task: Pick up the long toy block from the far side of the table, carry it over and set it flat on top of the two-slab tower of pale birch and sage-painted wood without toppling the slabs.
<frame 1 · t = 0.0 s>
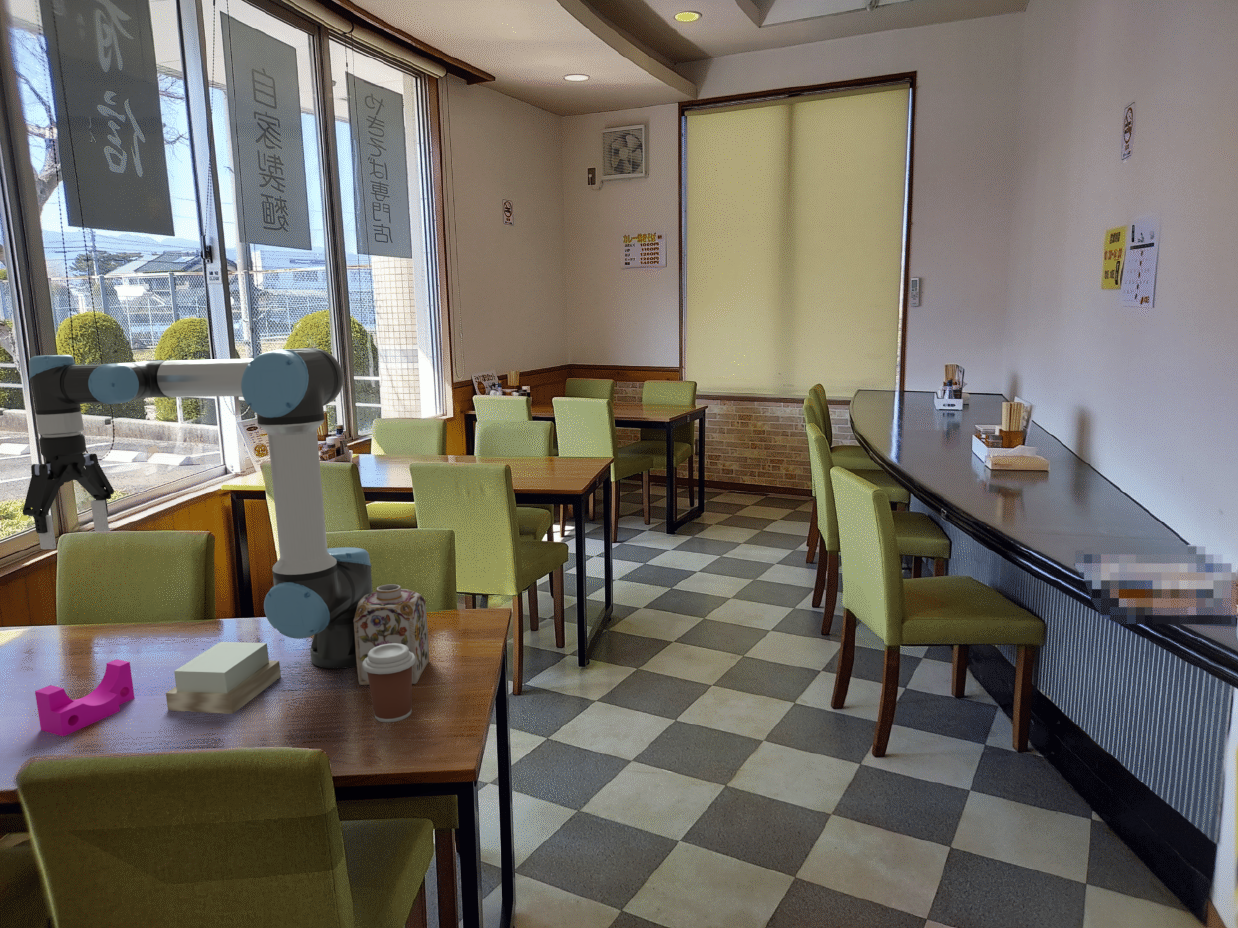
hand: (76, 539, 168), 28 cm above the table, tool pointing down, fingers open, 13 cm apart
toy block: (94, 716, 154), on the table
coffee cup: (393, 714, 151), on the table
tower base slab: (227, 695, 161), on the table, touching tower top slab
tower top slab: (224, 676, 161), point 3 cm above the table, touching tower base slab
decorative jar: (395, 674, 168), on the table
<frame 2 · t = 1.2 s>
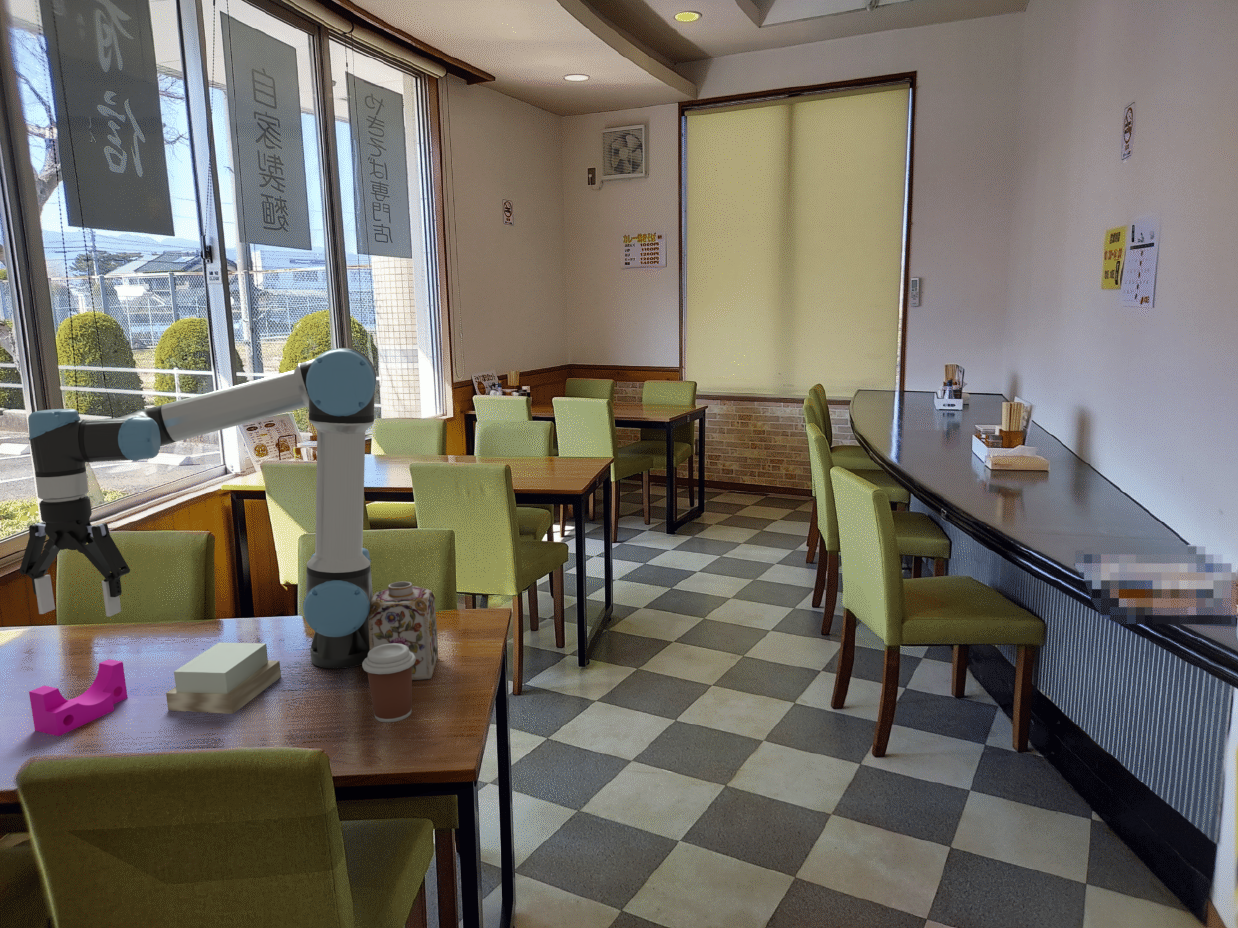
hand: (80, 612, 152), 19 cm above the table, tool pointing down, fingers open, 13 cm apart
toy block: (88, 716, 154), on the table
decorative jar: (407, 670, 170), on the table, touching arm
everything else where it was.
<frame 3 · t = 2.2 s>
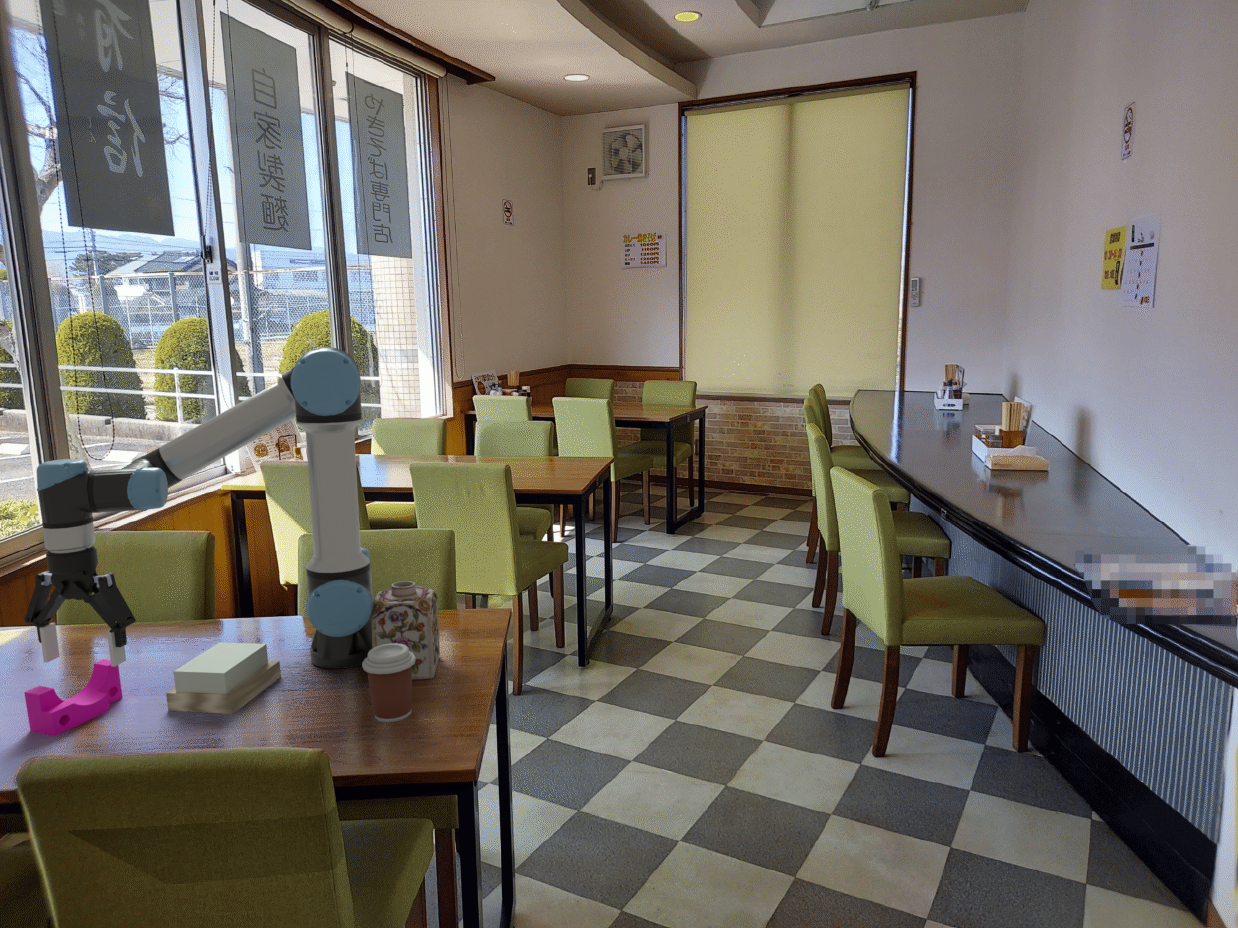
hand: (85, 661, 152), 10 cm above the table, tool pointing down, fingers open, 13 cm apart
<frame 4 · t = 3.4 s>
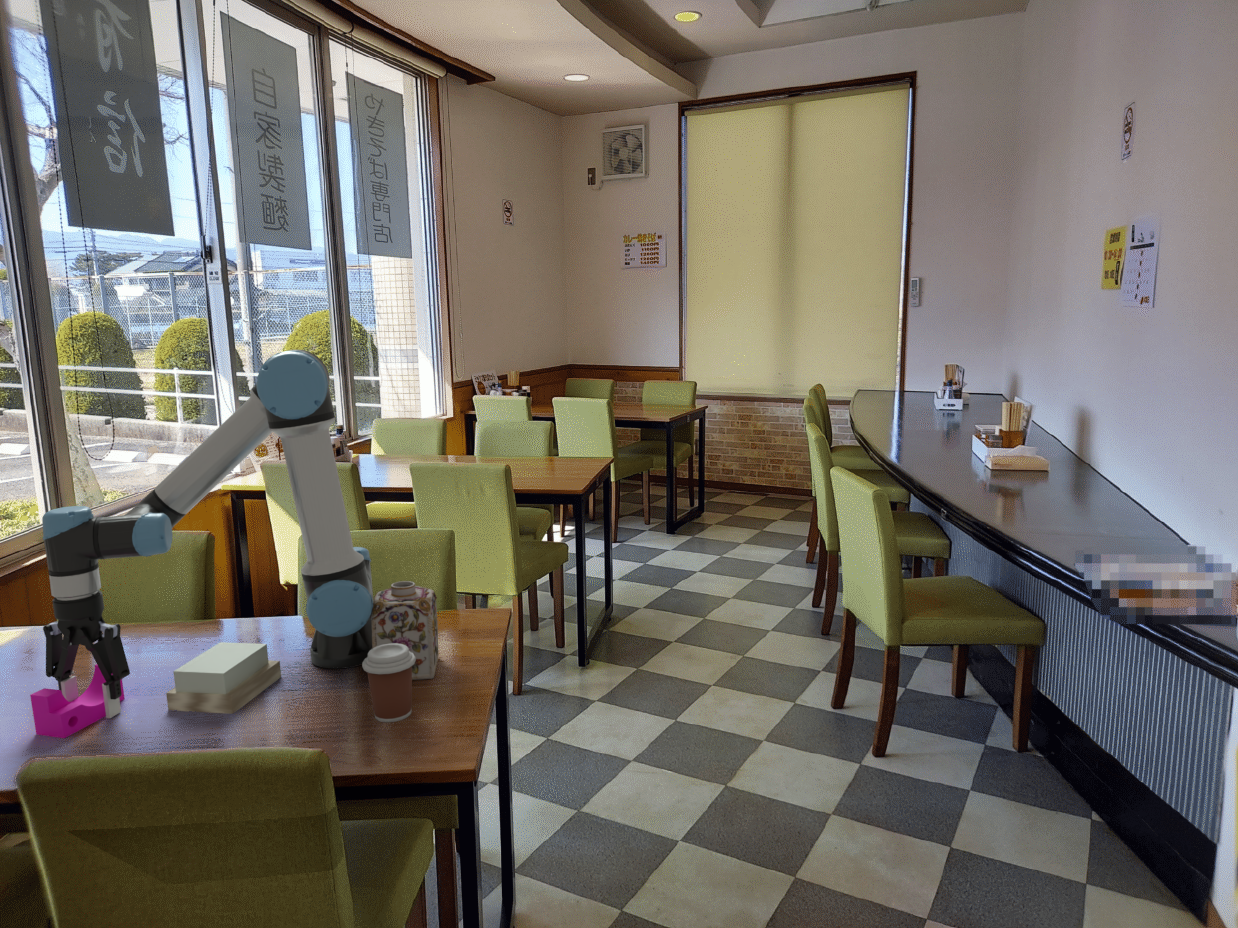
hand: (93, 713, 153), 0 cm above the table, tool pointing down, fingers open, 8 cm apart
toy block: (88, 718, 153), on the table, touching gripper
everything else where it was.
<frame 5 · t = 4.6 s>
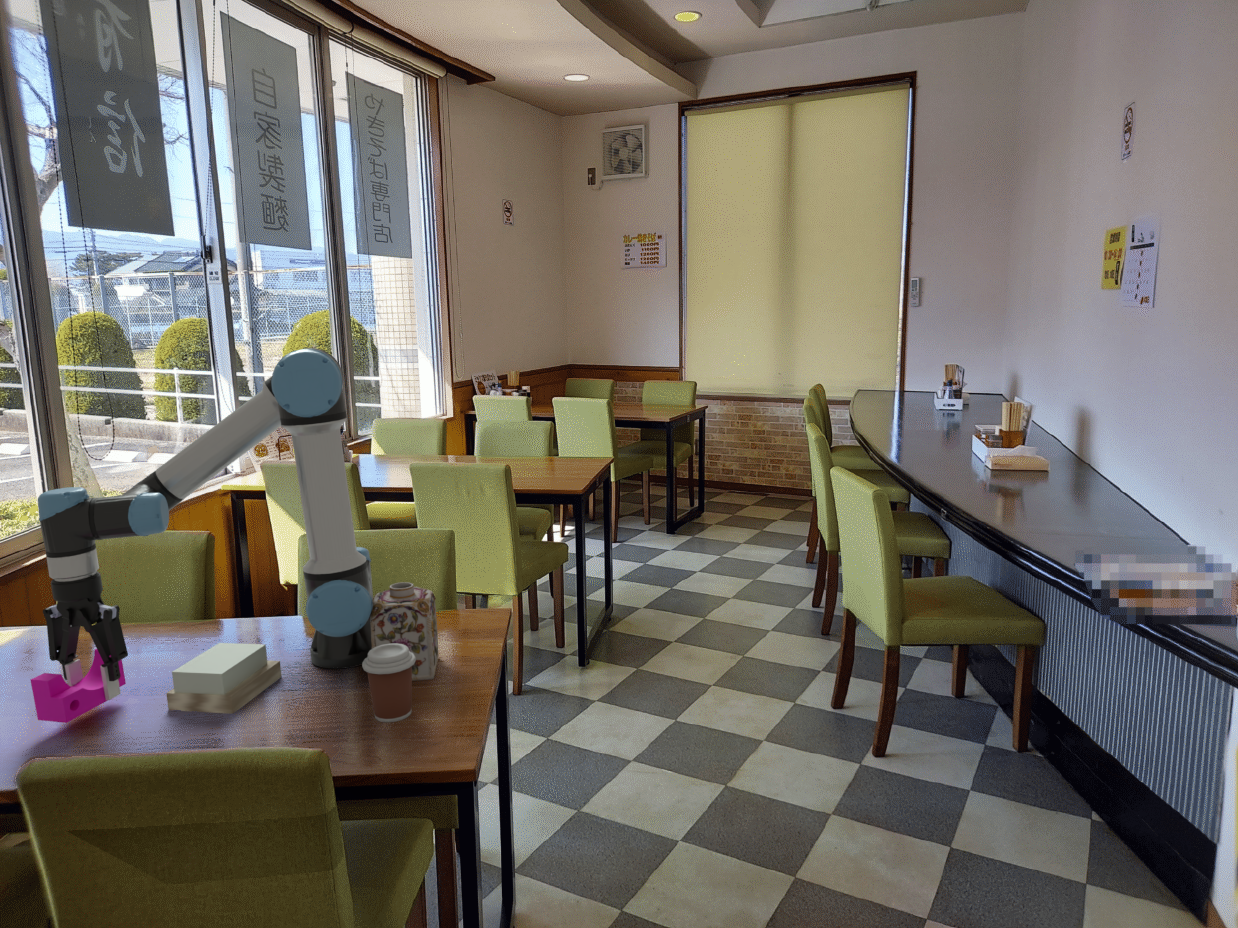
hand: (95, 696, 153), 3 cm above the table, tool pointing down, fingers closed on toy block, 7 cm apart
toy block: (89, 702, 152), point 3 cm above the table, touching gripper
everything else where it was.
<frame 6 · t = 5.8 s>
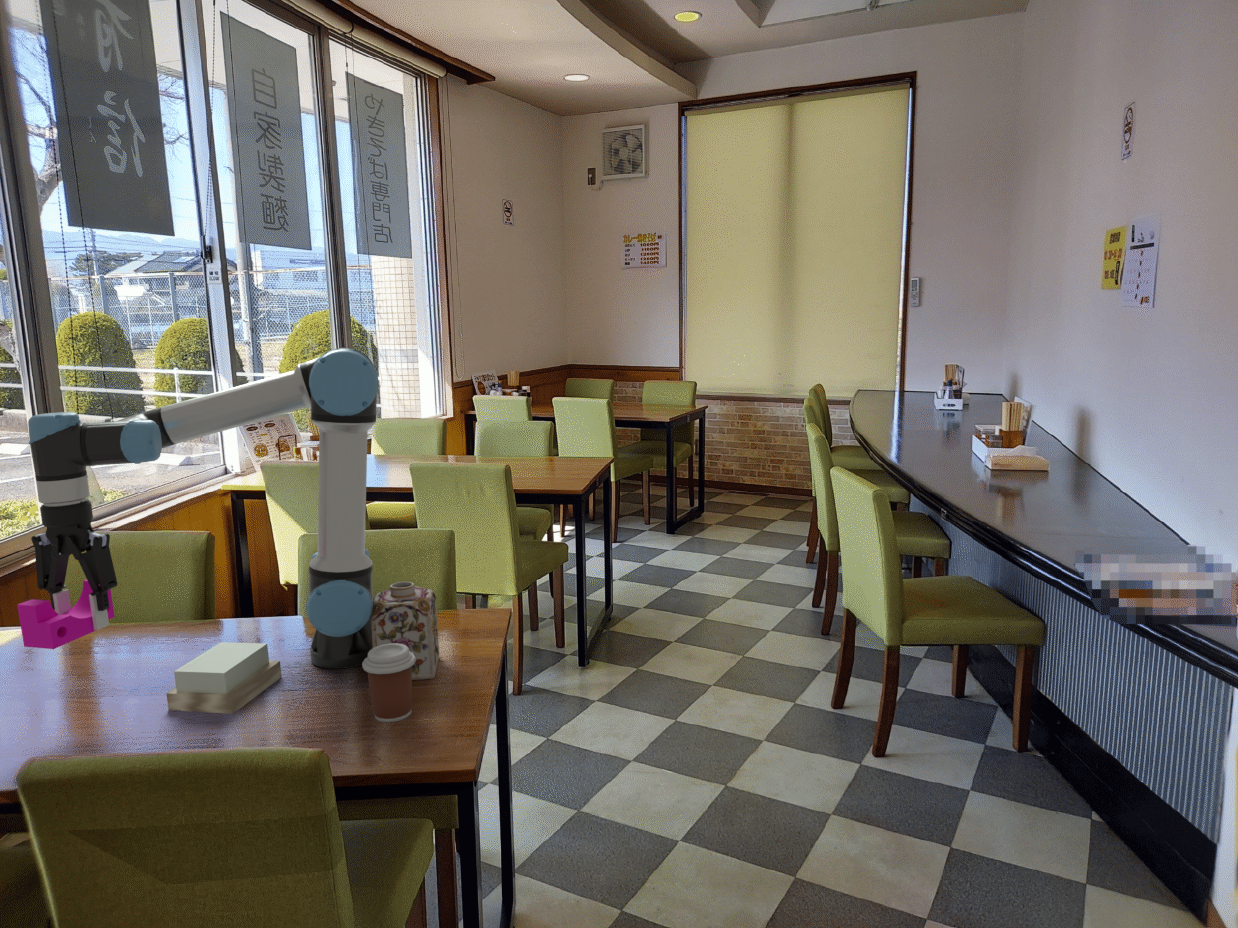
hand: (83, 626, 151), 17 cm above the table, tool pointing down, fingers closed on toy block, 7 cm apart
toy block: (77, 632, 150), point 16 cm above the table, touching gripper
everything else where it was.
when the fingers open (9 cm above the table, at t = 9.7 s): toy block drops 2 cm, resting on tower top slab.
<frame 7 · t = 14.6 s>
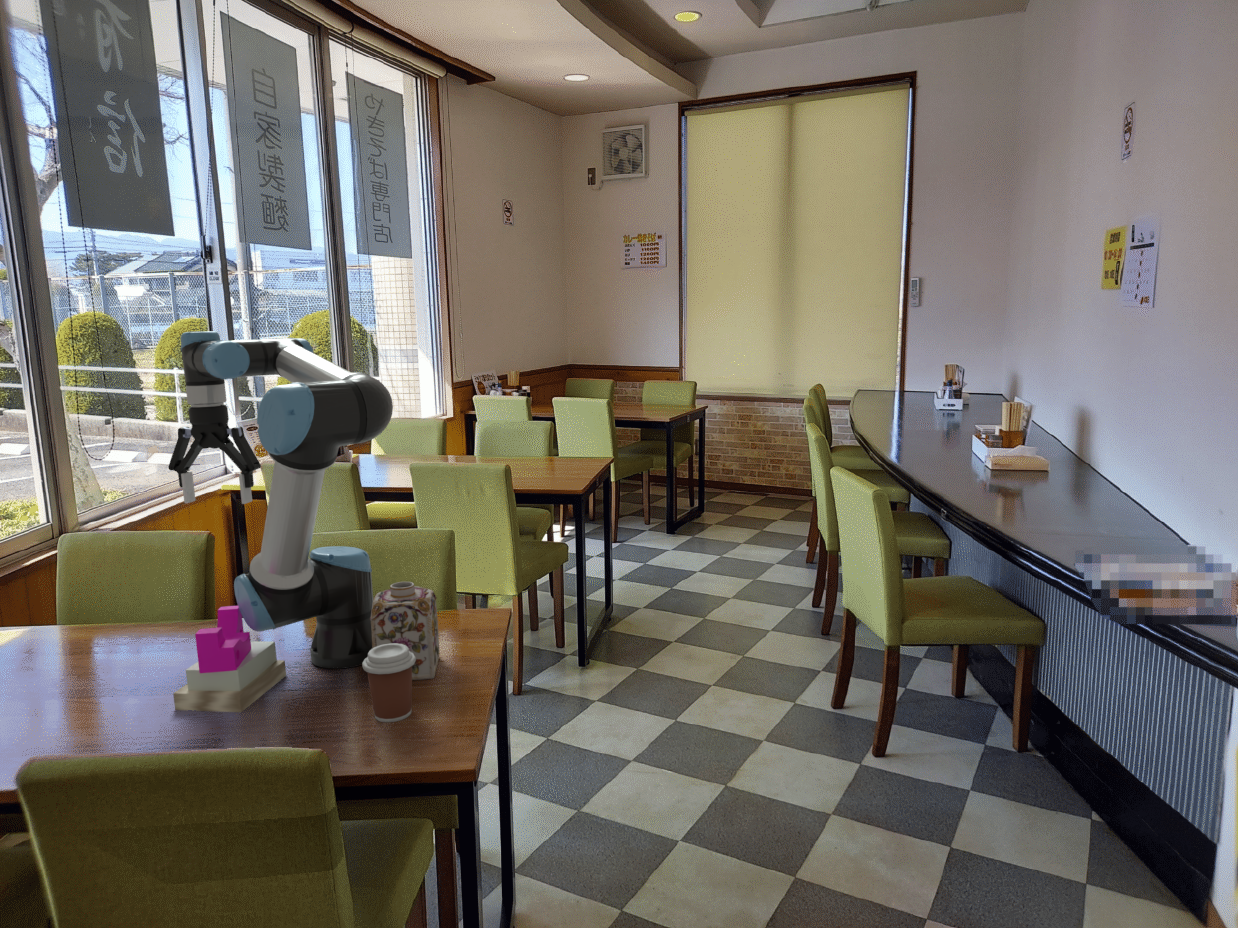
hand: (218, 502, 183), 32 cm above the table, tool pointing down, fingers open, 13 cm apart
toy block: (230, 656, 161), point 7 cm above the table, touching tower top slab
tower base slab: (233, 695, 162), on the table, touching tower top slab
tower top slab: (234, 674, 162), point 3 cm above the table, touching tower base slab, toy block
decorative jar: (409, 670, 170), on the table
everything else where it was.
at the end: toy block inside the target area on the tower base slab (0.4 cm from its centre), point 7.8 cm above the tower base slab's base; tower top slab moved 1.9 cm from its start; toy block tilted 0° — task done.
